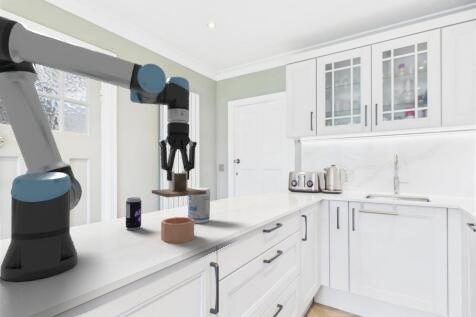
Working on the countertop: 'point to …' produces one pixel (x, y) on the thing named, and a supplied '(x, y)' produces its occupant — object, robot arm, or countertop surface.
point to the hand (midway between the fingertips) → (178, 189)
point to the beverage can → (133, 213)
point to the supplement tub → (199, 206)
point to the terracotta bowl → (177, 229)
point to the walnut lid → (179, 188)
